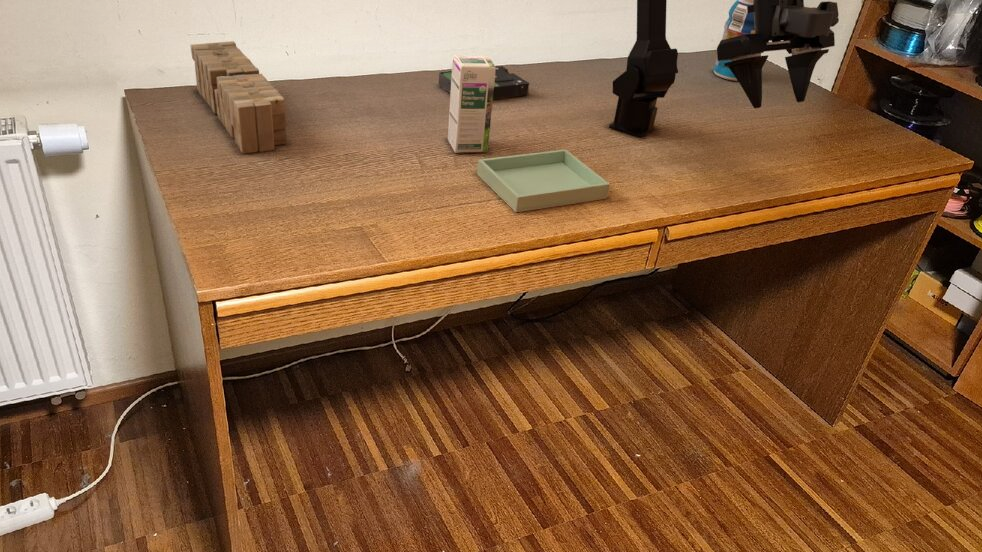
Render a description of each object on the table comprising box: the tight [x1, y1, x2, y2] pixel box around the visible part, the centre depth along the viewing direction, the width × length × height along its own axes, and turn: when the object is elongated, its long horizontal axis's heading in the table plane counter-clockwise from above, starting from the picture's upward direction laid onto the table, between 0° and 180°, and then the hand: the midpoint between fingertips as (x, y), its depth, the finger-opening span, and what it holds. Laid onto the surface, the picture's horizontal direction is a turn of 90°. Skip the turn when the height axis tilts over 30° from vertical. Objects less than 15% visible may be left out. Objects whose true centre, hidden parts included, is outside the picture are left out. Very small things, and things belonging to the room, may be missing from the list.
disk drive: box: [438, 65, 530, 100], centre depth 156 cm, size 10×3×15 cm
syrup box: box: [447, 55, 496, 154], centre depth 130 cm, size 6×6×14 cm
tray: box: [476, 149, 611, 213], centre depth 124 cm, size 16×13×2 cm
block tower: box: [189, 40, 288, 154], centre depth 133 cm, size 8×8×29 cm
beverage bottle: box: [713, 0, 755, 82], centre depth 174 cm, size 8×8×20 cm
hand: (779, 104), depth 119 cm, fingers open, 9 cm apart
